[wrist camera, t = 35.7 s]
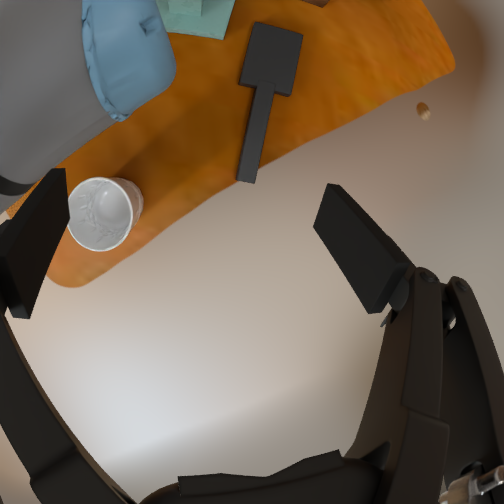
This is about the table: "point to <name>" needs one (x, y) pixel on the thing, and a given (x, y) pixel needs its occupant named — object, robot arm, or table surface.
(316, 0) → the shelf block
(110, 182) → the white cup
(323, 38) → the table surface
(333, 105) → the table surface
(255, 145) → the spatula
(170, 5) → the mounting bracket
